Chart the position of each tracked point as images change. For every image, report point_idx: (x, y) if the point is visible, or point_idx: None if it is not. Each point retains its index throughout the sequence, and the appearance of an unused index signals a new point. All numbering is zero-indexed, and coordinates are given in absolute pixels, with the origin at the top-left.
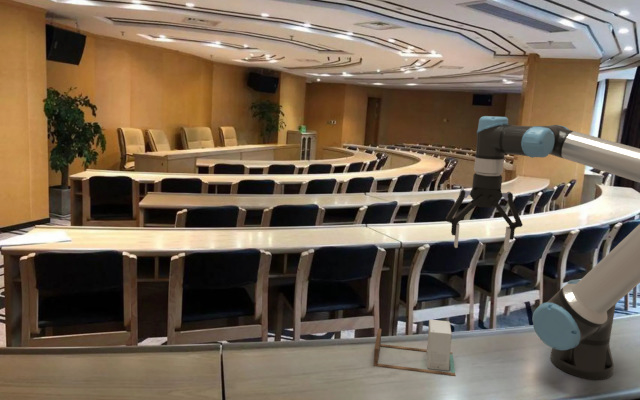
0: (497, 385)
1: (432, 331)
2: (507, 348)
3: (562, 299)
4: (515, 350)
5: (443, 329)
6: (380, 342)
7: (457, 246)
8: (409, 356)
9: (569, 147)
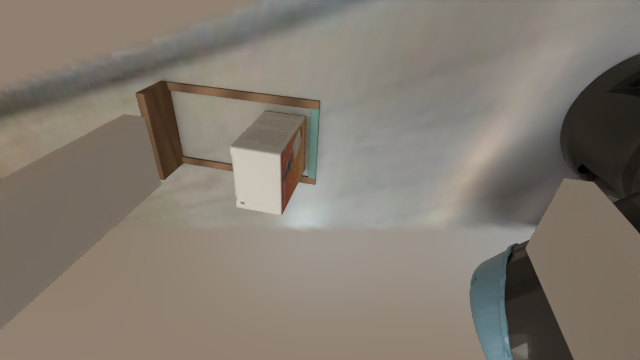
0: (385, 206)
1: (240, 205)
2: (475, 54)
3: None
4: (494, 63)
5: (264, 198)
6: (163, 92)
7: (154, 189)
8: (231, 122)
9: None
